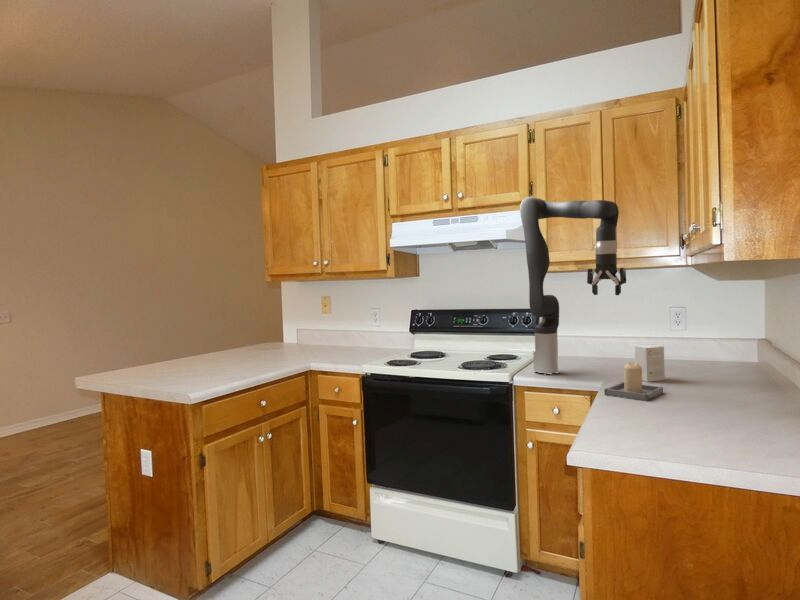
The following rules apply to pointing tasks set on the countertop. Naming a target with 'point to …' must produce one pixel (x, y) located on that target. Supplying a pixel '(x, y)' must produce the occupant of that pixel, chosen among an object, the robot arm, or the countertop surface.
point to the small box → (651, 362)
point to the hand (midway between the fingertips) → (606, 295)
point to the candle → (633, 378)
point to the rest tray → (646, 394)
